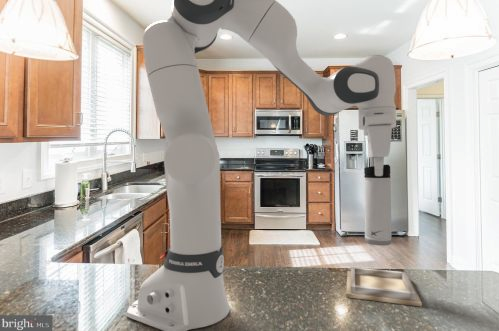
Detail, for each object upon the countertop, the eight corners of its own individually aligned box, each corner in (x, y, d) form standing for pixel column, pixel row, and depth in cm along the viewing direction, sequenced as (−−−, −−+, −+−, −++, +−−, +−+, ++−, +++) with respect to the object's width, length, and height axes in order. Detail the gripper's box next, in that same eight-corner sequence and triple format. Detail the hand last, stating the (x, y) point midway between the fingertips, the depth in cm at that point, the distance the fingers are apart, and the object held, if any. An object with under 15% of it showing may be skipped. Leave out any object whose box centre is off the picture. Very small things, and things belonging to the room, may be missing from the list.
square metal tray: (346, 297, 71) (346, 287, 71) (347, 273, 86) (347, 265, 86) (421, 306, 66) (421, 296, 66) (409, 279, 81) (408, 271, 81)
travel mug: (376, 247, 72) (375, 164, 72) (359, 240, 78) (359, 164, 78) (398, 245, 73) (397, 164, 73) (380, 238, 80) (379, 164, 80)
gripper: (362, 126, 87) (363, 173, 87) (365, 116, 67) (365, 177, 68) (386, 125, 85) (386, 173, 85) (395, 114, 65) (396, 177, 65)
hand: (377, 175), depth 76 cm, fingers closed on travel mug, 6 cm apart
